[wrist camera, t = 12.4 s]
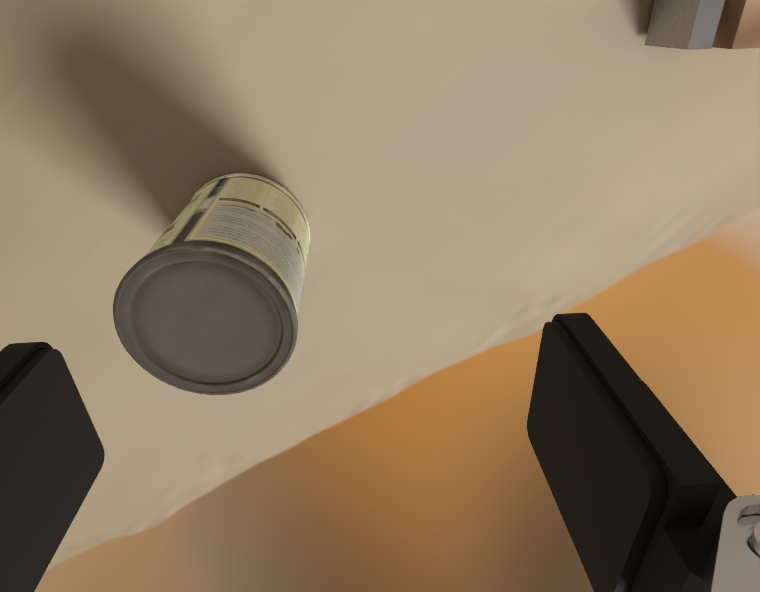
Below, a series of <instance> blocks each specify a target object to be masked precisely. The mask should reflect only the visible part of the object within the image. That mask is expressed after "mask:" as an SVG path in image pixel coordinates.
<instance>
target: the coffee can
mask: <svg viewBox="0 0 760 592" xmlns="http://www.w3.org/2000/svg"><path fill="white" fill-rule="evenodd" d="M309 247H310V227H309V223H308V220H307V217H306V214H305V212H304V210H303V208H302V206H301V205H300V203H299V202H298V201H297V200H296V199H295V198H294V196H293V195H292V194H291V193H290V192H289V191H287V190H286V189H285V188H284V187H282V186H281V185H279V184H277V183H276V182H274V181H272V180H270V179H267V178H264V177H262V176H259V175H252V174H247V173H234V174H228V175H224V176H220V177H217V178H215V179H213V180H210V181H209V182H208V183H206V184H205V185H203V186H202V187H201V188H200V189H199V190H198V191H197V192H196V193H195V195H194V196H193V197H192V199H191V201H190V202H189V204H188V205H187V206H186V207H185V208H184V210H183V211H182V212H181V213H180V214H179V216H178V217H177V218H176V219H175V220H174V222H173V223H172V224H171V225H170V227H169V228H168V229H167V230H166V231H165V232H164V234H163V235H162V236H161V237H160V238H159V239H158V240H157V242H156V243H155V244H154V246H153V247H152V248H151V249H150V251H149V252H148V253H147V254H146V255H145V257H143V258H142V259H141V260H139V261H138V262H137V263H136V264H135V265H134V266H133V267H132V268H131V269H130V270H129V271H128V272H127V273H126V275H125V276H124V277H123V279H122V280H121V282H120V284H119V286H118V288H117V290H116V293H115V297H114V303H113V317H114V323H115V328H116V331H117V334H118V336H119V338H120V341H121V343H122V344H123V346H124V348H125V349H126V351H127V352H128V353H129V354H130V355H131V357H132V358H133V359H134V360H135V361H136V362H137V363H138V364H139V365H140V366H141V367H142V368H144V369H145V370H146V371H147V372H149V373H150V374H151V375H153V376H154V377H156V378H157V379H159V380H161V381H163V382H165V383H167V384H169V385H171V386H174V387H176V388H179V389H182V390H185V391H190V392H194V393H199V394H208V395H228V394H235V393H240V392H244V391H247V390H251V389H254V388H256V387H258V386H260V385H262V384H264V383H266V382H267V381H269V380H270V379H272V378H273V377H274V376H275V375H277V374H278V373H279V372H280V371H281V370H282V369H283V368H284V366H285V365H286V364H287V362H288V361H289V359H290V357H291V355H292V353H293V350H294V348H295V344H296V340H297V332H298V313H299V307H300V300H301V293H302V287H303V280H304V273H305V267H306V261H307V254H308V252H309Z"/></svg>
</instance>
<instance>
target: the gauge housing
mask: <svg viewBox="0 0 760 592" xmlns="http://www.w3.org/2000/svg"><path fill="white" fill-rule="evenodd" d="M712 47H716V48H727V49H743V48H760V0H725V2H724V6H723V9H722V13H721V16H720V20H719V23H718V27H717V31H716V34H715V38H714V41H713V45H712Z"/></svg>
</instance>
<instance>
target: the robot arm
mask: <svg viewBox="0 0 760 592" xmlns="http://www.w3.org/2000/svg"><path fill="white" fill-rule="evenodd" d="M527 430H528V436H529V439H530V442H531V444H532V447H533V449H534V452H535V454H536V456H537V459H538V461H539V463H540V465H541V468H542V470H543V472H544V475H545V477H546V480H547V482H548V484H549V487H550V489H551V491H552V494H553V496H554V498H555V501H556V503H557V505H558V508H559V510H560V512H561V515H562V517H563V520H564V522H565V524H566V526H567V528H568V531H569V534H570V536H571V538H572V541H573V543H574V545H575V548H576V550H577V552H578V555H579V557H580V559H581V562H582V564H583V566H584V569H585V571H586V573H587V576H588V578H589V580H590V583H591V585H592V588H593V590H594V592H760V495H754V494H752V495H745V496H739V497H737V496H736V495H735V494H734V493H733V492H732V490H731V489H730V488H729V487H728V485H727V484H726V483H725V482H724V480H723V479H722V478H721V477H720V475H719V474H718V473H717V472H716V470H715V469H714V468H713V467H712V465H711V464H710V463H709V462H708V460H707V459H706V458H705V457H704V455H703V454H702V453H701V452H700V451H699V449H698V448H697V447H696V446H695V444H694V443H693V442H692V441H691V439H690V438H689V437H688V436H687V435H686V433H685V432H684V431H683V429H682V428H681V427H680V426H679V425H678V423H677V422H676V421H675V419H674V418H673V417H672V416H671V415H670V413H669V412H668V411H667V410H666V408H665V407H664V406H663V405H662V403H661V402H660V401H659V400H658V398H657V397H656V396H655V395H654V394H653V392H652V391H651V390H650V388H649V387H648V386H647V385H646V384H645V383H644V382H643V381H642V380H641V379H640V378H639V377H638V376H637V374H636V373H635V372H634V370H633V369H632V368H631V367H630V365H629V364H628V363H627V362H626V360H625V359H624V358H623V357H622V355H621V354H620V353H619V352H618V350H617V349H616V348H615V347H614V345H613V344H612V343H611V342H610V341H609V339H608V338H607V337H606V335H605V334H604V333H603V332H602V330H601V329H600V328H599V327H598V325H597V324H596V323H595V322H594V320H593V319H592V318H591V317H590V316H589V315H588V314H587V313H570V314H557V315H555V316H554V318H553V320H552V322H546V323H545V325H544V328H543V332H542V338H541V344H540V350H539V356H538V362H537V368H536V374H535V379H534V385H533V391H532V397H531V403H530V408H529V414H528V420H527ZM103 462H104V449H103V446H102V443H101V441H100V439H99V437H98V434H97V432H96V430H95V428H94V425H93V423H92V421H91V419H90V416H89V414H88V412H87V410H86V407H85V405H84V403H83V401H82V398H81V396H80V394H79V392H78V389H77V387H76V385H75V383H74V380H73V378H72V376H71V374H70V371H69V369H68V367H67V365H66V362H65V360H64V358H63V356H62V354H61V352H60V351H58V350H57V349H53V348H52V346H51V345H49V344H48V343H45V342H31V343H14V344H9V345H8V346H6V347H5V348H4V349H2V350H1V351H0V592H34V591H35V589H36V587H37V585H38V583H39V582H40V580H41V578H42V576H43V574H44V572H45V571H46V569H47V567H48V565H49V563H50V561H51V560H52V558H53V556H54V554H55V552H56V550H57V549H58V547H59V545H60V543H61V541H62V539H63V538H64V536H65V534H66V532H67V530H68V528H69V527H70V525H71V523H72V521H73V519H74V517H75V516H76V514H77V512H78V510H79V508H80V506H81V505H82V503H83V501H84V499H85V497H86V495H87V493H88V492H89V490H90V488H91V486H92V484H93V482H94V481H95V479H96V477H97V475H98V473H99V471H100V470H101V468H102V465H103Z"/></svg>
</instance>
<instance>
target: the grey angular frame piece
mask: <svg viewBox="0 0 760 592" xmlns="http://www.w3.org/2000/svg"><path fill="white" fill-rule="evenodd" d="M724 2H725V0H654V5H653V9H652V14H651V18H650V23H649V27H648V32H647V37H646V41H645V45H649V46H659V47H668V48H678V49H711V48H712V45H713V41H714V38H715V34H716V31H717V27H718V23H719V20H720V16H721V13H722V9H723V6H724Z"/></svg>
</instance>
